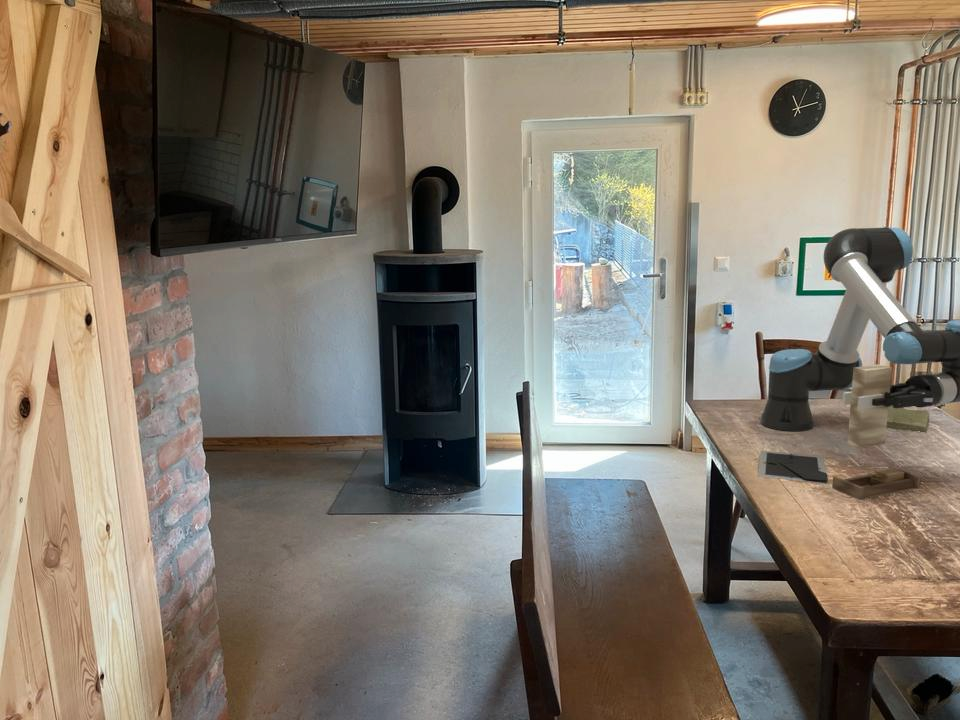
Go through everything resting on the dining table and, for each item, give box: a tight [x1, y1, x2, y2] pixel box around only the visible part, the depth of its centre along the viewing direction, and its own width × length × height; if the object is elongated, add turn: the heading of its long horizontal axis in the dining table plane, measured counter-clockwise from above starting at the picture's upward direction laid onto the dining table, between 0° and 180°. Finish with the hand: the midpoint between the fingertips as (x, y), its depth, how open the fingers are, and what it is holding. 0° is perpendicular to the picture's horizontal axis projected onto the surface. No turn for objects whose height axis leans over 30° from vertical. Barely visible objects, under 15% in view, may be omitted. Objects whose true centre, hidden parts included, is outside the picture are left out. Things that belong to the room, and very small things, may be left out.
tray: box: [831, 465, 921, 501], centre depth 168 cm, size 8×18×4 cm, turn 109°
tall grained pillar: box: [846, 364, 893, 449], centre depth 162 cm, size 4×8×18 cm, turn 109°
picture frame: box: [757, 450, 829, 485], centre depth 184 cm, size 16×3×21 cm
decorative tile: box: [886, 406, 930, 433], centre depth 224 cm, size 19×20×4 cm
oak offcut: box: [874, 468, 904, 483], centre depth 169 cm, size 4×5×4 cm
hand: (851, 400), depth 160 cm, fingers closed on tall grained pillar, 3 cm apart
